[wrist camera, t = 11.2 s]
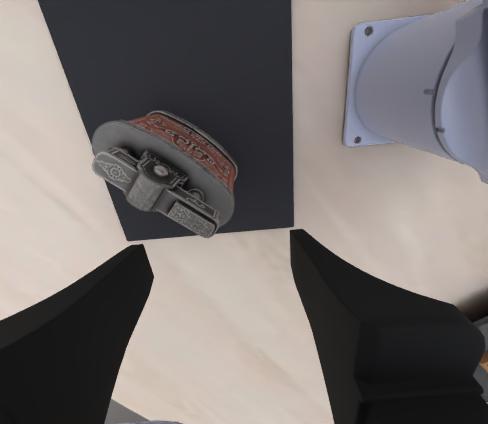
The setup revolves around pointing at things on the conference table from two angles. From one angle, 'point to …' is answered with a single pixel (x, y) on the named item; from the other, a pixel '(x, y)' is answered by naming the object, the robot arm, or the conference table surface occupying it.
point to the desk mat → (189, 89)
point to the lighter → (168, 169)
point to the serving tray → (483, 359)
